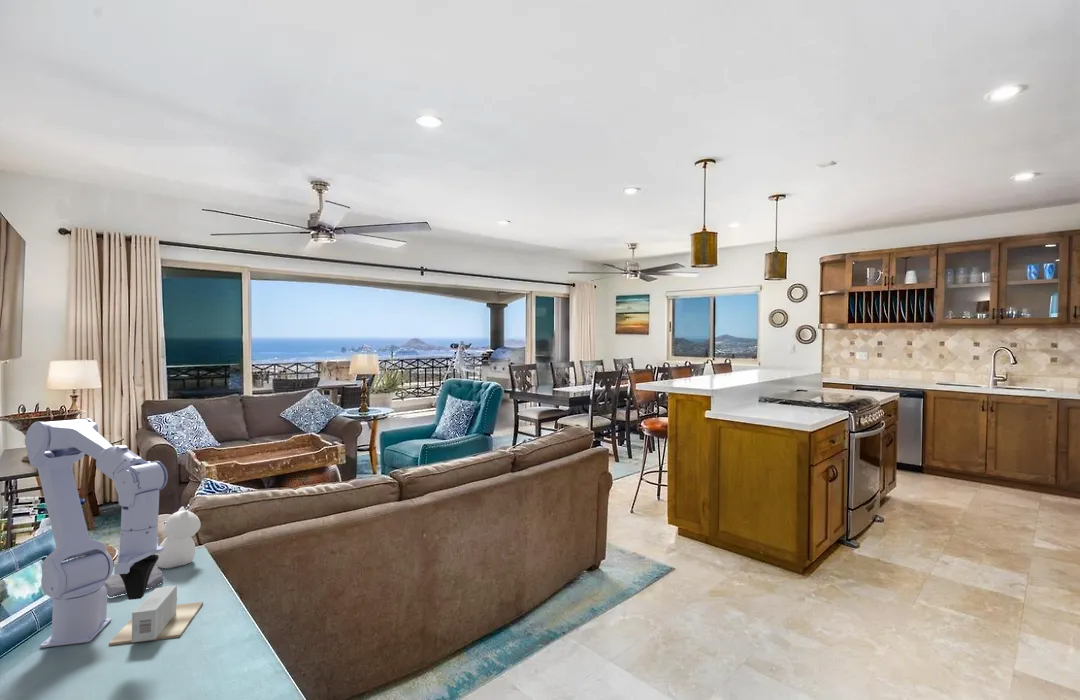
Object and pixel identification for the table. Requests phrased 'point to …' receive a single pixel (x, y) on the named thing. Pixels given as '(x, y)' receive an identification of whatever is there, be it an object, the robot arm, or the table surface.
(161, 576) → the stone block
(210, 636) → the table surface
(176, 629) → the birch board
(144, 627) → the skincare box
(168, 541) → the cat figurine
